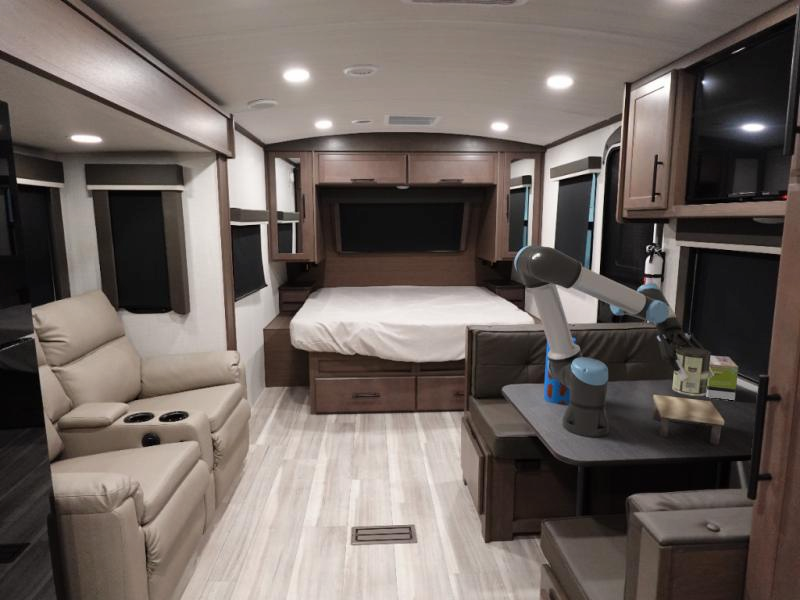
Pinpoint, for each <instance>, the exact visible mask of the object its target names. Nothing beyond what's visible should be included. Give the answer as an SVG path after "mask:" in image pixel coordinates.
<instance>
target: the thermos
mask: <svg viewBox="0 0 800 600" xmlns="http://www.w3.org/2000/svg"><path fill="white" fill-rule="evenodd" d="M572 339H573V342H574V344H576V345H577V338H575V337H572ZM549 351H550V347H549V344H548V341H547V340H546V352H545V353H546V355H545V370H544V384H543V385H544V386H543V399H544V400H545V401H546V402H549V403H550V404H555V403H556V404H555V405H568V404H569V397H570V389H568V388H567V387H566V386H564V385H563V384H561V383H560V382H558V381H556V380H555V379H554V378H553V377H552V375H551V374H550V373H549V370H548V360H549V358H548V353H549ZM567 403H568V404H567Z"/></svg>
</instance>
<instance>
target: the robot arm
mask: <svg viewBox="0 0 800 600" xmlns="http://www.w3.org/2000/svg"><path fill="white" fill-rule="evenodd" d="M513 263H514V269H515V271H516V272H517V273H518V274H519V275H520V276H521V278H522V280H523V283H524V287H525V288H526V289H527V290H529V291H530V292H531V294H532V297H533V300H534V303H535V308H537V312H538V315H539V319H540V322H541V325H542V329H543V330H544V331H543V332H544V334H545V338H546V342H547V341H548V344H549V347H550V351H549V353H548V358H549V360H548V370H549V373H550V374H551V375H552V377H553V378H554V379H555V380H556V381H558V382H560V383H561V384H563V385H564V386H566V387H567V388H568V389H570V397H569V403H568V404H567V407H566V409H565V412H564V415H563V416H562V421H561V422H562V423H561V425H562V427H563V428H564V429H565V430H566V431H568V432H570V433H573V434H575V435H577V436H578V435H579V436H584V437H603V436H605V435H608V433H610V432H609V431H610V423H609V419H608V416H607V411H606V403H607V390H608V381H609V369H608V365H606V364H605V363H604V362H602V361H600V360H599V359H594V358H593V357H587V356H586V357H585V356H583V352H582V351H581V347H580V346H579V345H578V344H577V343H576V344H574V342H573V339H572V333H571V330H570V326H569V323H568V319H567V316H566V313H565V310H564V307H563V303H562V301H561V300H562V299H561V297H560V293H559V291H558V287H557V286H559V287H562V288H565V289H566V290H567V289H571V288H572V289H574V290H576V291H579V292H581V293H583V294H585V295H588V296H589V297H592V298H595V299H597V300H599V301H602V302H604V303H606V304H609V308H610V310H611V312H612V314H613V315H615V316H624V315H628V316H632V317H635V318H638V319H641V320H644V321H647V322H649V323H653V325H654V326H655V329H656V331H657V332H658V335H657V336H656V337H655V340H656V342H657V343H658V347H659V351H660V354H661V358H662V362H664V363H666V364H667V365H669V366H671V367H672V370H673V372H674V371H676V373H677V374H678V376H679V378H680V380H681V381H684V380H686V379H687V378H688V376H687V374H686V372H685V370H684V368H683V367H682V365H681V363H680V361H679V360H676V348H677V346H678V347H694V348H700V349H704V350H706V349H705V347H704V346H703V345H702V344H701V343H700V342H699V341H698V340H697V339H696V338H695V336H694V334H693V332H692V331H689V332H688V333H686V332H684V330H682V324H681V322H680V320H679V319H678V317H677V315H676V314H675V312H674V310H673V309H672V307H671V306H670V304H669V302H668V300H667V299H666V296H665V294H664V293H663V291H662V289H660V287H659V286H658V284H657V283H656V282H647V283H645V284H642V285H640V286H639V287H638V288H637V289H636V290H635V289H633V288H630V287H628V286H627V285H624V284H621V283H619V282H617V281H615V280H614V279H613V280H612V279H610V278H608V277H606V276H604V275H602V274H599V273H597V272H595V271H593V270H591V269H589V268H586V267H584V266H583V264H582V262H581V261H579V260H576V259H575V258H573V257H570V256H569V255H567V254H565V253H563V252H562V251H560V250H558V249H556V248H555V247H554V248H553V247H550V246H543V245H539V244H532V245H531V244H530V245H527V246H526V245H525V246H523V247H522V248H521V249H520V250H519V251H518V252H517V254H516V256H514V261H513ZM712 376H714V373H713V371H712V370H711V368H710V365H709V374H708V379H709V378H711V377H712Z"/></svg>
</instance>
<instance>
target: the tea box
mask: <svg viewBox="0 0 800 600" xmlns="http://www.w3.org/2000/svg"><path fill="white" fill-rule="evenodd" d="M710 368H711V370H712V371H713V373H714V376H712V377H711V378H709V379H708V383H707V394H706V395H705V396H706V398H707V397H709V398H708V399H711V398H721V399H729V400H734V401H736V400H735V399H736V391H737V383H738V382H737V381H738V375H739V366H738V365H737V364H736V362H735V361H733V360H732V359H731V357H730V356H722V355H721V356H719V355H711V357H710Z"/></svg>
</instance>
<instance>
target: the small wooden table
mask: <svg viewBox="0 0 800 600" xmlns="http://www.w3.org/2000/svg"><path fill="white" fill-rule="evenodd" d="M652 397H653V398H652V400H653V401H654V402H653V413H652V420H654V421H659V430H658V431H659V433H658V436H659V437H662V438H667V437H668V434H669V433H668V431H669V422H670V419H672V420H673V419H675V420H683V421H689V422H698V423H699V425H700V426H702V427H708V426H709V424H712V426H711V434H710V440H709V442H710V444H712V445H715V446H716V445H719V444H720V440H721V439H720V437H721V431H722V426H724V425H725V420H724V418H723V417H722V415H721V414H720V412H719V411H718V410H717V408H716V407H715V405H714V404H713V403H712V401H710V400H703V399H702V400H701V399H693V398H688V397H687V398H686V397H675V396H670V395H662V394H661V395H660V394H659V395H658V394H653V395H652Z"/></svg>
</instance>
